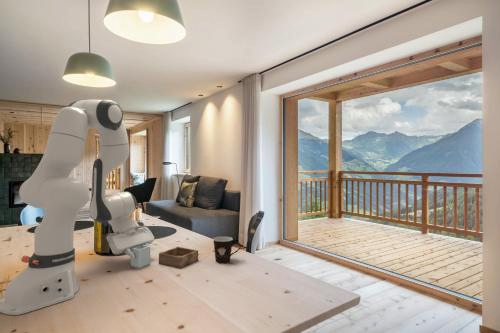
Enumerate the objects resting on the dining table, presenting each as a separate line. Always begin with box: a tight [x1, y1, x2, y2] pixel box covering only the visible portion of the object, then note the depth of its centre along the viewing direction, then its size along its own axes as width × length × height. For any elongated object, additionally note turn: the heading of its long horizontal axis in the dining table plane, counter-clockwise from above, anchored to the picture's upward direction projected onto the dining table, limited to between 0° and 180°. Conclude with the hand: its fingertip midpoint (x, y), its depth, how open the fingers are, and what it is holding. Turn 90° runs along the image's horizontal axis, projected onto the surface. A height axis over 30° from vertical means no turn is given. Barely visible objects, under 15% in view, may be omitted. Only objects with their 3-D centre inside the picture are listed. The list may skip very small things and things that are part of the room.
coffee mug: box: [213, 236, 242, 264], centre depth 137 cm, size 12×9×10 cm
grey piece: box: [130, 245, 151, 270], centre depth 130 cm, size 6×5×8 cm
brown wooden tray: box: [158, 246, 199, 269], centre depth 136 cm, size 12×12×4 cm
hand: (141, 255), depth 130 cm, fingers closed on grey piece, 6 cm apart
